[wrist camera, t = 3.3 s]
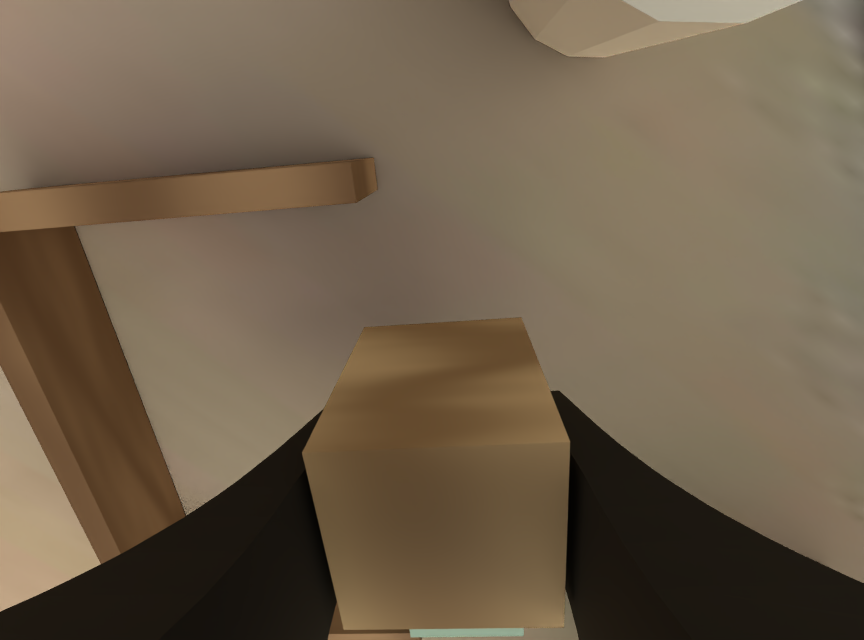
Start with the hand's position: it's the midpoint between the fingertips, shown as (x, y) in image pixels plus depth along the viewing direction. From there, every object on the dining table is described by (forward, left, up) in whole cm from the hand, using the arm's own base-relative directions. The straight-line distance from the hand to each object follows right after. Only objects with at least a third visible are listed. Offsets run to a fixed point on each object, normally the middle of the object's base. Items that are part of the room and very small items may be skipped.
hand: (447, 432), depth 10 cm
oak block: (0, 0, -2) cm, 2 cm away
